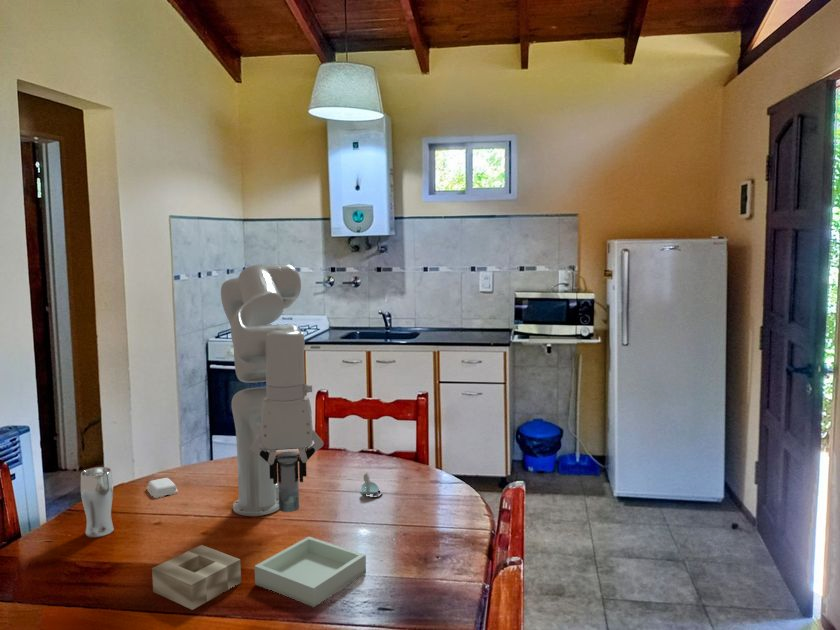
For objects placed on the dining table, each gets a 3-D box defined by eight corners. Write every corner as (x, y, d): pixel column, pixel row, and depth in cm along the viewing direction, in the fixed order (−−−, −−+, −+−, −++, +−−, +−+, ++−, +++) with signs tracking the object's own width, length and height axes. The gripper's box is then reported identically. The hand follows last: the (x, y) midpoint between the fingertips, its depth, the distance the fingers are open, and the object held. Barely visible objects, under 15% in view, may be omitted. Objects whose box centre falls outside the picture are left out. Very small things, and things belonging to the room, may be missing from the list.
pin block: (202, 567, 144) (201, 544, 143) (241, 582, 137) (240, 559, 136) (153, 591, 134) (151, 568, 133) (192, 609, 127) (191, 585, 126)
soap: (179, 494, 185) (179, 484, 185) (154, 500, 181) (153, 489, 181) (170, 484, 192) (169, 475, 192) (145, 490, 188) (144, 480, 188)
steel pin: (289, 501, 139) (287, 450, 138) (306, 506, 137) (304, 454, 135) (272, 509, 135) (270, 456, 134) (288, 514, 133) (287, 461, 131)
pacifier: (383, 490, 187) (361, 489, 187) (383, 468, 187) (362, 468, 187) (381, 500, 180) (359, 499, 180) (382, 478, 179) (359, 477, 179)
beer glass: (103, 539, 157) (99, 477, 155) (76, 537, 158) (72, 475, 157) (121, 527, 164) (118, 467, 162) (96, 524, 165) (92, 465, 163)
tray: (309, 553, 150) (308, 536, 149) (366, 572, 141) (365, 554, 140) (255, 584, 136) (254, 565, 136) (314, 608, 127) (313, 588, 127)
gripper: (327, 386, 138) (329, 471, 141) (243, 390, 135) (246, 477, 138) (329, 394, 131) (331, 484, 133) (240, 398, 128) (243, 490, 130)
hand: (288, 479), depth 135 cm, fingers closed on steel pin, 4 cm apart
